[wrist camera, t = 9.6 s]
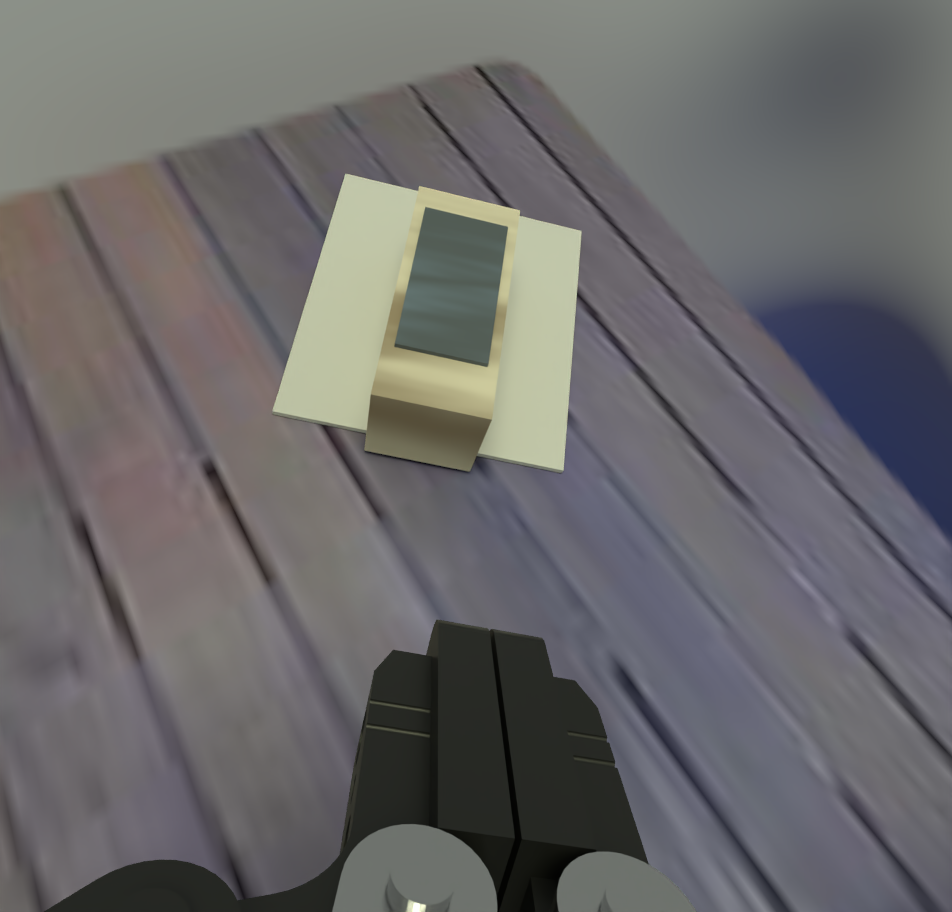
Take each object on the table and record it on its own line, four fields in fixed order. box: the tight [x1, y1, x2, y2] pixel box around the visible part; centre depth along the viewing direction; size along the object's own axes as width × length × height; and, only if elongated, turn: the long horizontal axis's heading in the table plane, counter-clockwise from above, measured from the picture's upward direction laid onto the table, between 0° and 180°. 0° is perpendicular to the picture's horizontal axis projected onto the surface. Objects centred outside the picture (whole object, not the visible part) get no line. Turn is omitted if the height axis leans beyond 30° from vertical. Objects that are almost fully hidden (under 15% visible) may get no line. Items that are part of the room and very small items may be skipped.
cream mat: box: [273, 174, 581, 473], centre depth 37 cm, size 16×14×1 cm
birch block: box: [364, 186, 520, 472], centre depth 34 cm, size 5×5×12 cm
